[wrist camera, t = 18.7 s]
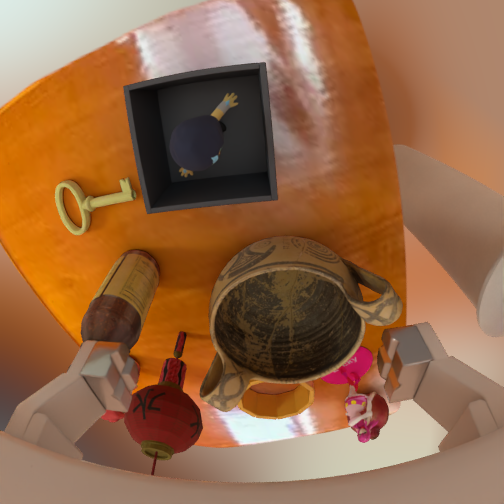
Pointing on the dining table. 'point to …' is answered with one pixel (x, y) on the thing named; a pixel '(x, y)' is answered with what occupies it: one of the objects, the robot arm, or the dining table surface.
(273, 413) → the toy bowl
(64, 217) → the key
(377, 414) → the fruit
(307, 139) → the dining table surface
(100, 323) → the sauce bottle
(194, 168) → the character figure
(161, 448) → the lantern
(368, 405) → the figurine
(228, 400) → the ceramic bowl
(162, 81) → the bin
